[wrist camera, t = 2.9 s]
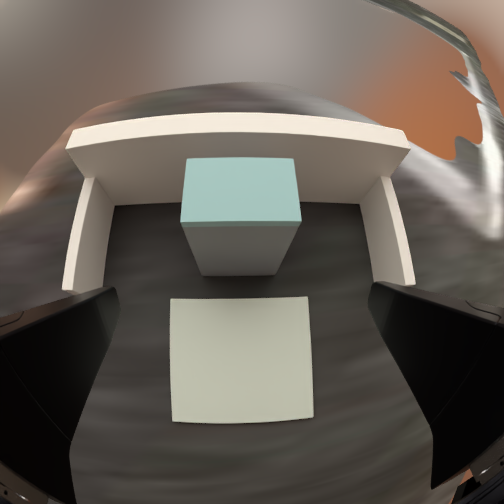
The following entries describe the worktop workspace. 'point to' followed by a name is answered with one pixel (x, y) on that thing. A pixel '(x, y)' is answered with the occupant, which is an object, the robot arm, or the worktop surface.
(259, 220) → the grey teal block
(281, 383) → the mat
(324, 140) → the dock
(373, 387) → the worktop surface
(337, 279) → the worktop surface
